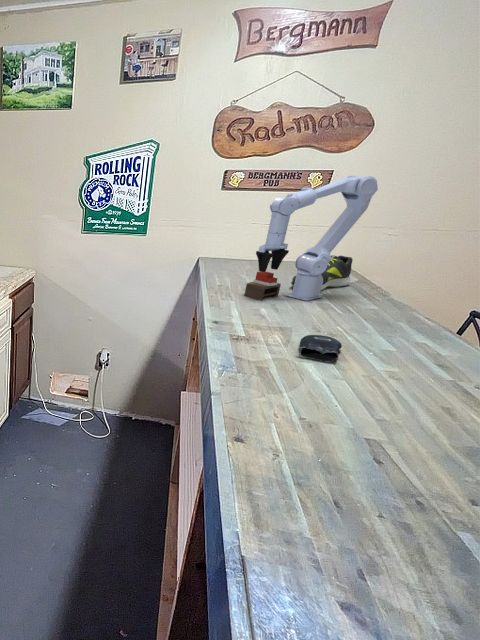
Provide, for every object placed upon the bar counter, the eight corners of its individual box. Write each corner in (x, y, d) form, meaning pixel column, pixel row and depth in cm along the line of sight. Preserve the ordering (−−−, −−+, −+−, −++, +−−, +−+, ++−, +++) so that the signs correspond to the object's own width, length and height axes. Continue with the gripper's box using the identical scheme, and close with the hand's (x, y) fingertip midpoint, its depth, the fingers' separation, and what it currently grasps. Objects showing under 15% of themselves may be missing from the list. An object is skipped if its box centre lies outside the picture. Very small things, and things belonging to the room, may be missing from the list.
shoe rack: (260, 292, 180) (263, 279, 178) (277, 296, 174) (281, 283, 172) (244, 295, 176) (246, 282, 174) (260, 300, 170) (263, 286, 168)
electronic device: (339, 369, 116) (341, 344, 126) (341, 350, 113) (344, 325, 124) (295, 365, 121) (301, 341, 132) (297, 347, 119) (303, 324, 129)
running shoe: (280, 287, 186) (288, 256, 182) (326, 279, 198) (334, 250, 193) (307, 293, 177) (315, 261, 172) (353, 285, 189) (362, 254, 184)
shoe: (253, 282, 175) (255, 271, 173) (260, 281, 176) (263, 270, 175) (269, 286, 169) (271, 275, 167) (276, 285, 170) (279, 274, 169)
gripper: (276, 235, 157) (267, 274, 162) (299, 232, 164) (290, 270, 169) (256, 232, 162) (248, 270, 168) (280, 230, 169) (271, 266, 174)
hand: (268, 270), depth 169 cm, fingers open, 7 cm apart
